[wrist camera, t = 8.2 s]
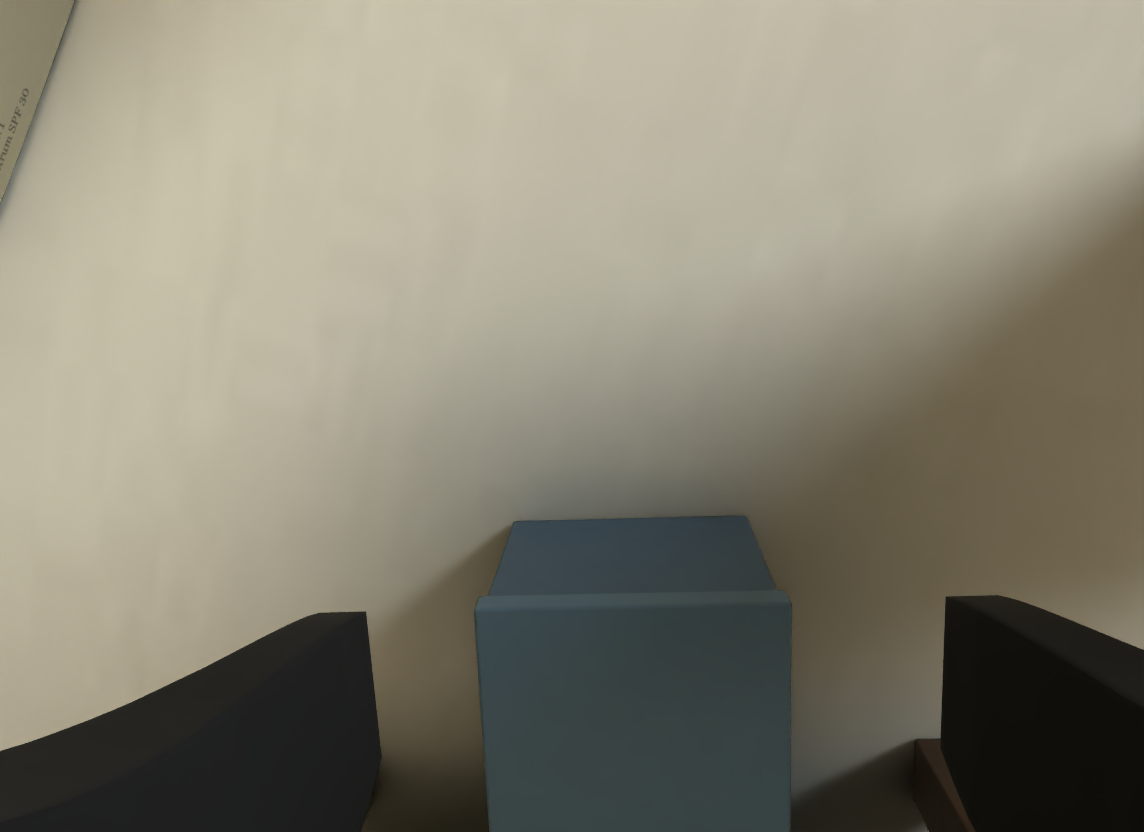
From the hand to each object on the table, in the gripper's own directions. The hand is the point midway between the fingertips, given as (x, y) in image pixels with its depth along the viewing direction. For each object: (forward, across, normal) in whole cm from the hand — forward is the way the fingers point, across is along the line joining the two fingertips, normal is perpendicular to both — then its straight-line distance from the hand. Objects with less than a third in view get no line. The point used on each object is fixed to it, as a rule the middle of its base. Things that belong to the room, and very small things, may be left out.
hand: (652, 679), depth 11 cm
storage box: (+9, 0, +8) cm, 12 cm away
